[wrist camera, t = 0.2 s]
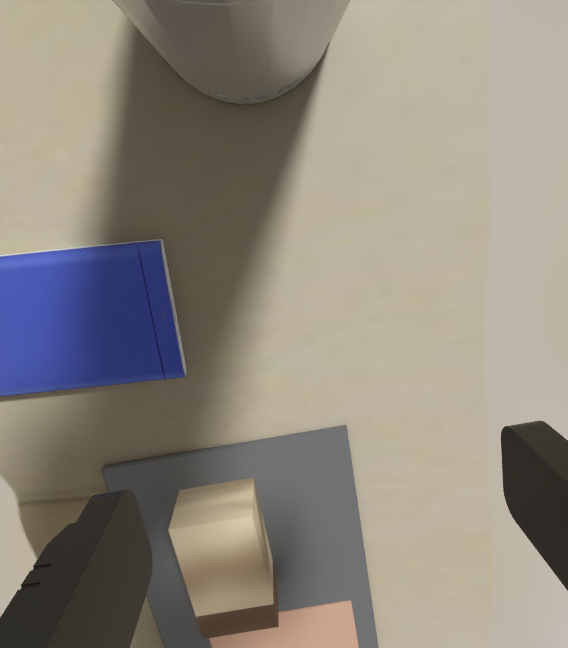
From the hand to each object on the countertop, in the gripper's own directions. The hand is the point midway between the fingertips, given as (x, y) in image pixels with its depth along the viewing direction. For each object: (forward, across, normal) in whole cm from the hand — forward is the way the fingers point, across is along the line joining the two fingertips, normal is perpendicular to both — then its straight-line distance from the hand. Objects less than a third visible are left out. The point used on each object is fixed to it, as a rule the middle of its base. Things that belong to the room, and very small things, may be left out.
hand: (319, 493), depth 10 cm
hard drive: (+18, +13, -2) cm, 22 cm away
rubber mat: (+18, +6, +20) cm, 28 cm away
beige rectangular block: (+18, +7, +16) cm, 24 cm away
